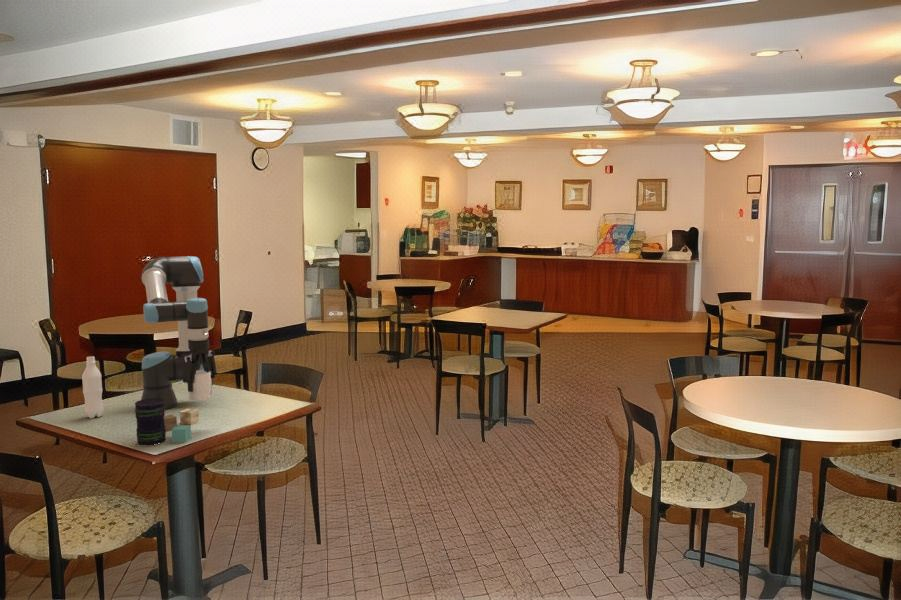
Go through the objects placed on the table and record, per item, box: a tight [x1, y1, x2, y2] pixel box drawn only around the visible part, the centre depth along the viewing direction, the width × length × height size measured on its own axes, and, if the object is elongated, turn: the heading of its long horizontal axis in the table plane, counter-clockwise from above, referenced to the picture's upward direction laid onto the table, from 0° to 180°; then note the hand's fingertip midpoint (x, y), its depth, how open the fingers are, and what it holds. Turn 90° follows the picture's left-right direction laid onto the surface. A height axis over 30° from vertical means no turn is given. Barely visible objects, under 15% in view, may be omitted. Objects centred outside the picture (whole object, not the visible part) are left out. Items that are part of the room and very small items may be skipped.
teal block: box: [171, 424, 192, 443], centre depth 258 cm, size 5×5×5 cm
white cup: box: [190, 370, 211, 401], centre depth 271 cm, size 8×8×10 cm
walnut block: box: [164, 414, 178, 432], centre depth 272 cm, size 5×5×5 cm
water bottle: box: [81, 355, 105, 419], centre depth 288 cm, size 7×7×25 cm
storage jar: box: [134, 398, 167, 446], centre depth 256 cm, size 10×10×15 cm
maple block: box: [179, 408, 200, 426], centre depth 281 cm, size 5×5×5 cm
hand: (201, 397), depth 271 cm, fingers closed on white cup, 8 cm apart
